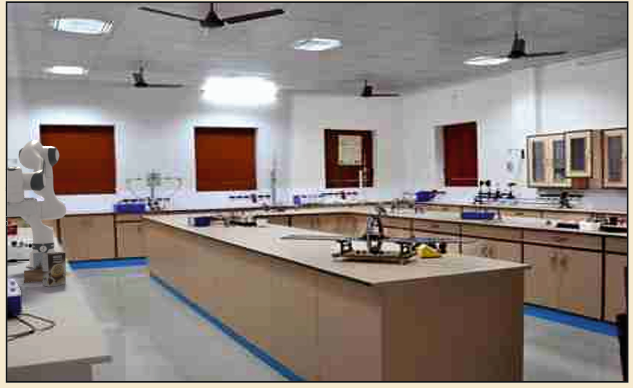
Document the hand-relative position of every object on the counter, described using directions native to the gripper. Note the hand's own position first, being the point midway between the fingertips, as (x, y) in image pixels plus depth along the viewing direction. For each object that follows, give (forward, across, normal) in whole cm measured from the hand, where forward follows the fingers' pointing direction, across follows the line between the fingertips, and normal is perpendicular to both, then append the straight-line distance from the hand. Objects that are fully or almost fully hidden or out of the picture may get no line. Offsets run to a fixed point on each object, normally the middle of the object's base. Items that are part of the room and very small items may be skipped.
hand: (16, 224), depth 314 cm
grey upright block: (+26, -10, +4) cm, 28 cm away
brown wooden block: (+29, -10, +5) cm, 31 cm away
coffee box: (+29, -18, +23) cm, 41 cm away
